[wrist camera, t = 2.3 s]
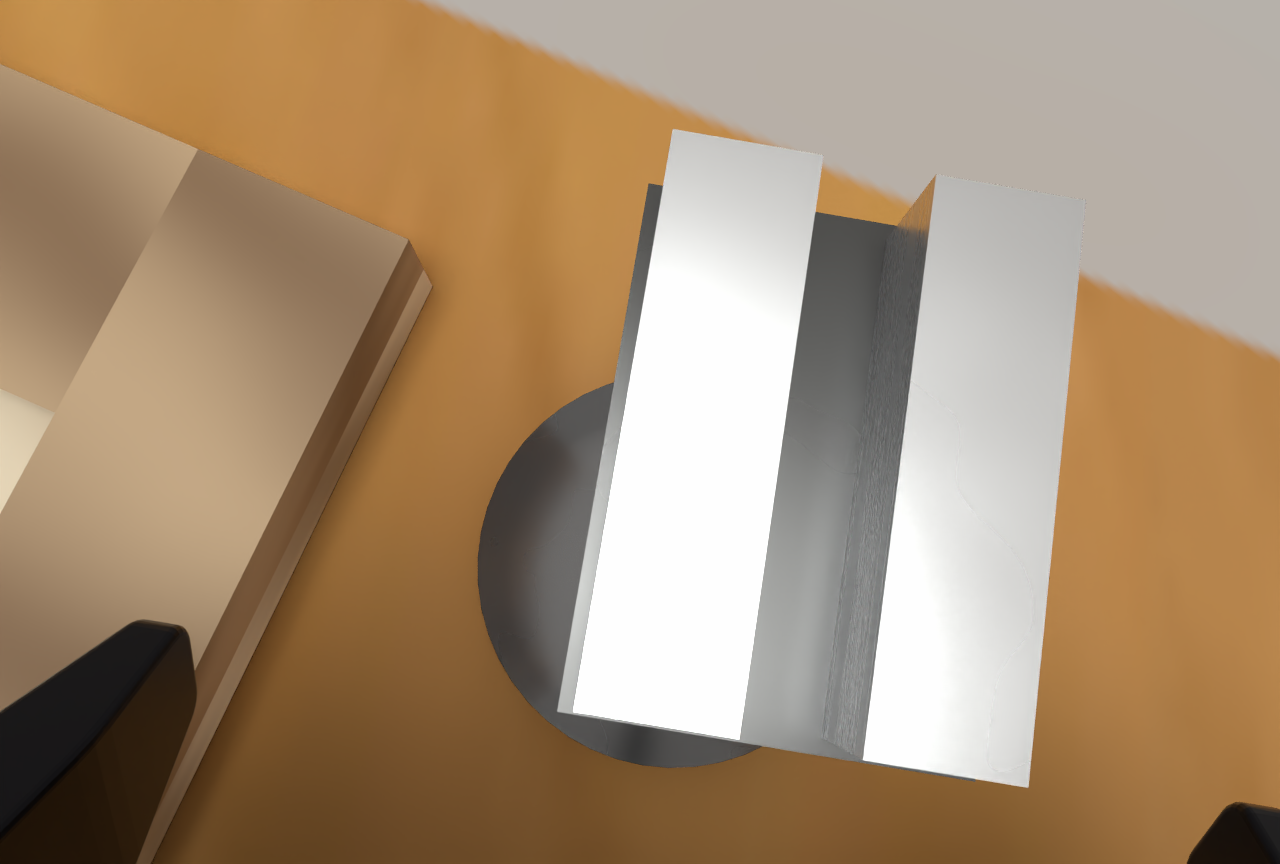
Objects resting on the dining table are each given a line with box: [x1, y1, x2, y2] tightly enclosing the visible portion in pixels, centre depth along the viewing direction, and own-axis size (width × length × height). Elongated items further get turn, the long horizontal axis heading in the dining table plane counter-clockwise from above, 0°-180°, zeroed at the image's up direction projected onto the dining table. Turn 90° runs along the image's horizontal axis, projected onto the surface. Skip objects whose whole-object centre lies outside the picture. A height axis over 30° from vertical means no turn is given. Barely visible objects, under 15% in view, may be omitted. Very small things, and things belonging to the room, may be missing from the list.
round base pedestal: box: [478, 129, 1086, 788], centre depth 12 cm, size 6×6×14 cm
